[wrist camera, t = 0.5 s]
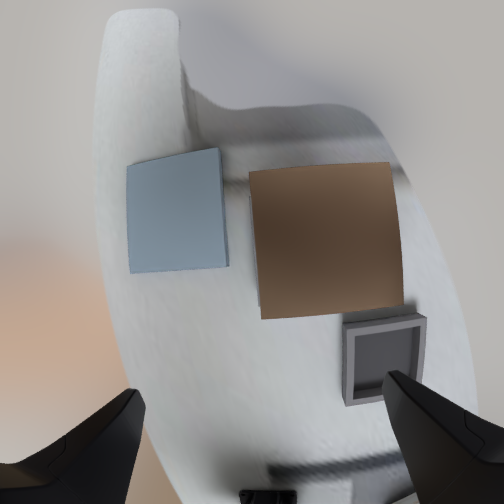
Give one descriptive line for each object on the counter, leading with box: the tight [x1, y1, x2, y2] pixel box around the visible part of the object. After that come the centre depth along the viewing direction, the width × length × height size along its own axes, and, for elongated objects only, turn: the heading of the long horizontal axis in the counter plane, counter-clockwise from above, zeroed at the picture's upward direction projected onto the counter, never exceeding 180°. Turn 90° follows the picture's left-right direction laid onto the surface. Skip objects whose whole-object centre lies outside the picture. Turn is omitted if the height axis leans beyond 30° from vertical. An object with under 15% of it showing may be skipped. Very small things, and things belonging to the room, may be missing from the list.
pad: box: [126, 147, 229, 274], centre depth 23 cm, size 10×9×1 cm
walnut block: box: [249, 162, 404, 319], centre depth 16 cm, size 5×5×14 cm
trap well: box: [342, 313, 427, 406], centre depth 20 cm, size 7×7×2 cm
